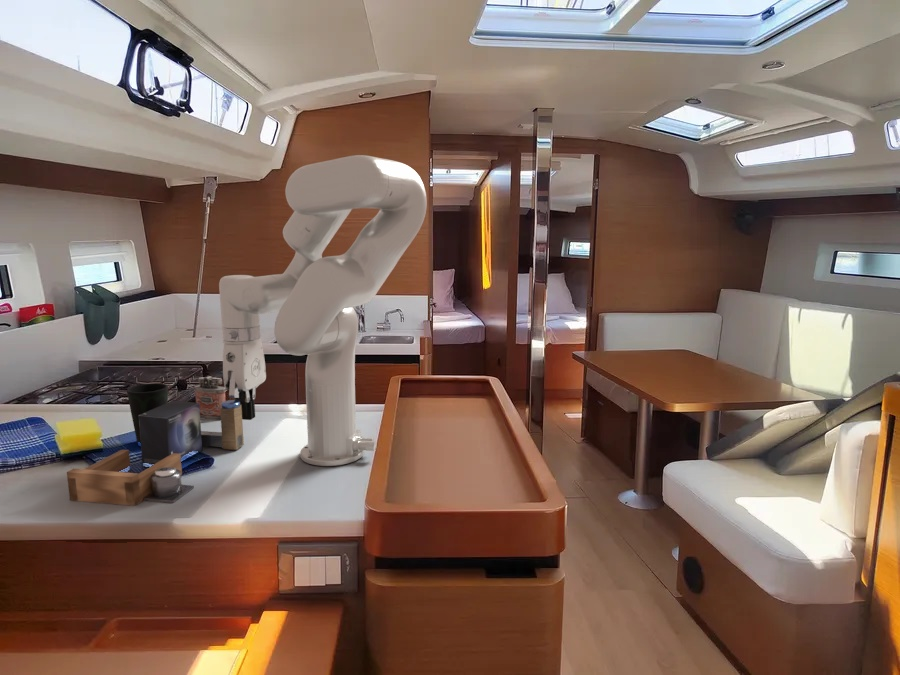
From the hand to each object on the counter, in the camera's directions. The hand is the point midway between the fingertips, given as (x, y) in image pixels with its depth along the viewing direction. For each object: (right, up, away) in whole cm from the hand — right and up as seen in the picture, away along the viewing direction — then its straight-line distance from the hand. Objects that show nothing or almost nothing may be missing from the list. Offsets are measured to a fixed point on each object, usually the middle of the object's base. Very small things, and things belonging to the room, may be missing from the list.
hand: (246, 418), depth 129 cm
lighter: (-13, -2, +15) cm, 20 cm away
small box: (-11, -7, -11) cm, 17 cm away
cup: (-19, -5, -2) cm, 20 cm away
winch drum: (-5, -9, -26) cm, 28 cm away
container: (-6, -5, -4) cm, 9 cm away
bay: (-13, -9, -23) cm, 28 cm away
